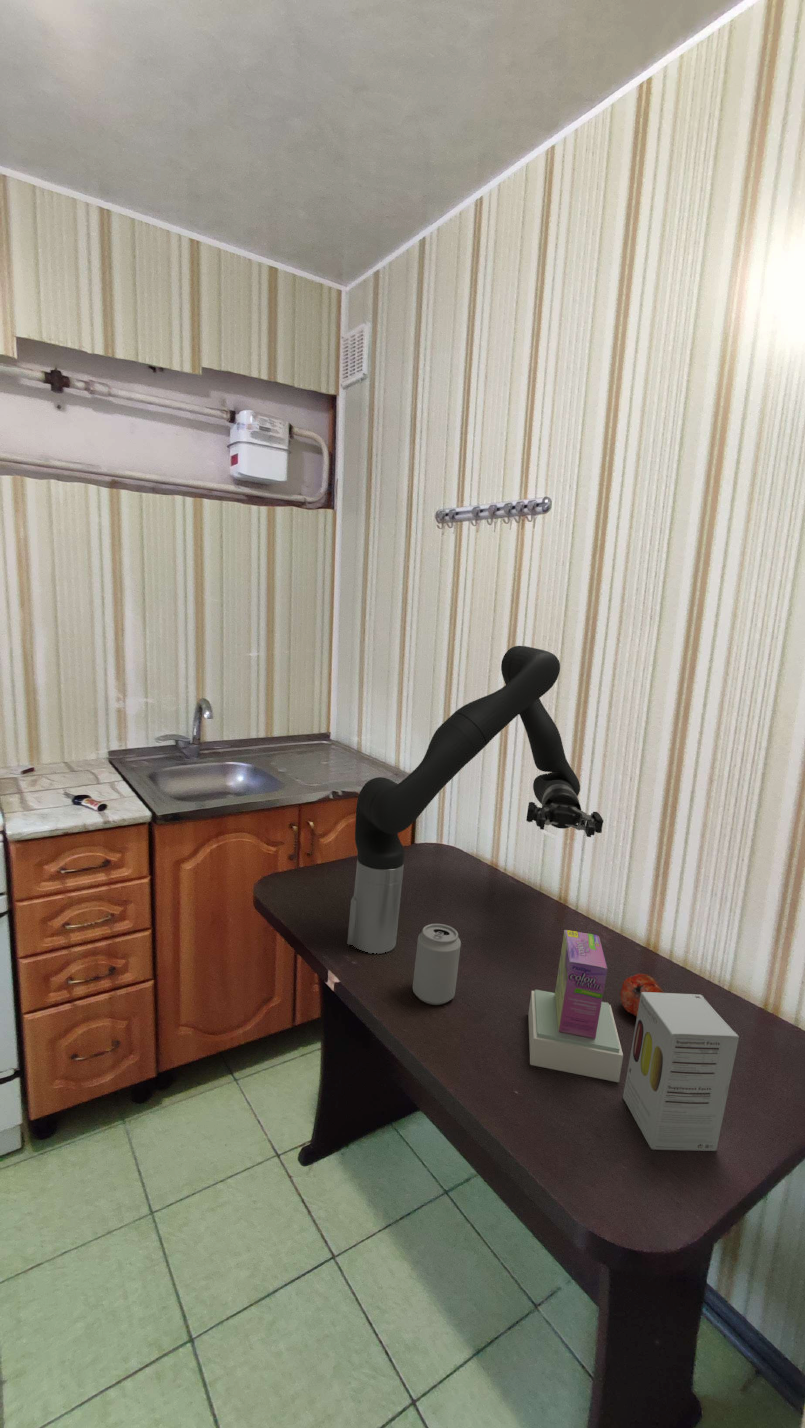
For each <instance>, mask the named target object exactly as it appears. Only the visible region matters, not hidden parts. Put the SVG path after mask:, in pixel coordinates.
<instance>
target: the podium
mask: <svg viewBox="0 0 805 1428" xmlns="http://www.w3.org/2000/svg"><path fill="white" fill-rule="evenodd" d="M527 1015H528V1016H527V1017H528V1039H529V1040H528V1042H529V1043H528V1044H529V1045H528V1046H529V1064H530V1066H534V1067H539V1068H546V1069H550V1070H555V1071H560V1072H564V1073H569V1074H570V1073H571V1074H575V1075H580V1076H586V1077H590V1078H594V1079H600V1080H606V1081H609V1082H614V1083H619V1082H620V1078H621V1071H622V1065H623V1061H624V1060H623V1059H624V1053H623V1050H622V1045H621V1042H620V1038H619V1037H620V1036H619V1034H618V1030H617V1025H616V1021H615V1018H614V1017H615V1016H614V1012H613V1009H612V1005H611V1004H609V1002H605V1001H602V1003H601V1009H600V1015H599V1021H598V1026H597V1032H596V1038H595V1039H592V1038H586V1037H581V1036H576V1035H571V1034H566V1033H562V1032H559V1031H558V1020H557V1009H556V1000H555V992H551V991H545V990H541V989H534V990H531V993H530V1001H529V1007H528V1014H527Z"/></svg>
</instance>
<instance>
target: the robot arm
mask: <svg viewBox="0 0 805 1428" xmlns="http://www.w3.org/2000/svg"><path fill="white" fill-rule="evenodd" d="M500 665H501V666H500V670H501V676H502V678H503V681H504V683H505V685H504V686H503V687H501V688H499V689H498V690H496V691H494V692H492V693H490V694H488V695H485V696H483V697H480V698H477V699H474V700H472V701H470V702H468V703H466V704H464V705H463V706H461V707H460V708H458V709H457V710H455V711H454V712H453V713H452V714H451V715H450V716H449V717H448V718H446V719H445V721H444V722H442V723H441V724H440V725H439V726H438V728H437V729H436V730H435V731H434V733H433V736H432V738H431V740H430V742H429V744H428V747H427V749H426V752H425V755H424V756H423V758H422V760H421V762H420V763H419V764H418V765H417V766H416V767H415V769H414V770H412V771H411V772H410V773H409V774H407V776H406V777H405V778H404V779H402V781H399V782H398V783H397V782H395V781H393V780H391V779H389V778H386V777H382V776H380V777H374V778H371V779H370V780H368V781H366V783H365V784H364V785H363V786H362V787H361V789H360V791H359V793H358V797H357V801H356V806H355V807H356V810H355V829H354V831H355V832H354V842H355V847H356V852H357V856H356V859H357V860H356V870H355V881H354V891H353V892H354V893H353V895H352V898H351V899H350V908H349V909H350V910H349V917H348V918H349V919H348V930H347V942H346V945H347V944H351V945H353V946H354V947H356V948H357V949H359V950H362V951H365V952H368V953H367V954H372V953H374V954H373V955H380V954H385V952H386V953H389V952H390V951H392V950H393V949H395V947H396V945H397V944H396V943H397V938H398V926H399V916H400V906H401V898H402V897H401V895H402V888H403V887H402V886H403V876H404V867H405V856H406V852H405V848H404V846H403V843H402V842H401V839H400V837H399V834H400V833H401V832H403V831H405V830H406V829H408V828H409V827H410V826H411V825H412V824H413V823H415V821H416V820H417V818H419V816H420V815H422V813H423V811H424V810H425V809H426V808H427V807H428V805H429V804H430V803H431V802H432V801H433V800H434V799H435V797H436V796H437V795H438V794H439V793H440V792H441V790H442V789H443V788H445V786H446V785H447V784H448V783H449V782H450V781H452V779H454V777H455V776H456V775H457V774H458V773H459V772H460V771H461V770H462V769H463V768H464V767H466V765H467V764H468V763H469V762H471V761H472V760H473V759H474V758H475V757H476V756H477V755H478V754H479V753H480V752H481V751H482V750H484V748H485V747H486V746H488V744H490V742H491V741H492V739H494V737H496V736H497V735H498V734H499V733H500V732H501V731H502V730H503V729H504V728H506V726H508V725H509V724H510V723H511V722H512V721H514V719H515V718H516V717H518V716H520V719H521V723H522V724H523V727H524V729H525V732H526V735H527V740H528V742H529V743H528V744H529V747H530V750H531V755H532V757H533V758H532V759H533V763H534V766H535V767H536V768H537V770H539V771H541V772H544V773H543V774H539V775H537V776H536V777H535V778H534V780H533V783H532V789H533V794H534V796H535V798H536V800H537V801H538V802H539V803H540V804H541V807H539V806H538V805H537V804H536V803H535V802H533V801H529V802H528V806H527V813H526V822H528V823H533V821H534V822H535V824H536V827H539V829H540V830H543V831H544V830H545V825H546V826H552V827H554V828H556V829H569V828H572V829H575V830H577V831H584V833H585V835H586V837H587V838H592V836H595V834H596V833H597V834H602V831H603V824H604V819H603V817H602V815H600V813H599V812H598V811H592V813H591V814H587V813H586V812H584V811H583V810H582V807H581V803H580V801H579V798H578V796H579V794H580V792H581V783H580V780H579V779H578V777H577V774H576V773H575V772H574V769H572V767H571V765H570V764H569V762H568V759H567V757H566V753H565V750H564V746H563V740H562V737H561V733H560V731H559V729H558V727H557V725H556V723H555V721H554V720H553V718H552V717H551V716H550V714H549V712H548V710H547V709H546V708H545V706H544V704H543V702H542V701H541V699H540V698H541V697H543V696H544V695H545V694H547V692H549V691H550V689H551V688H552V687H554V685H555V683H556V682H557V680H558V679H559V675H560V672H561V663H560V660H559V658H558V657H557V655H555V654H553V653H552V652H550V651H549V650H548V651H547V650H544V649H540V648H535V647H531V646H526V645H516V646H512V647H509V649H508V650H507V651H506V652H505V653H504V655H503V657H502V659H501V664H500ZM545 772H546V773H545ZM353 946H352V947H353ZM354 947H353V948H354ZM356 948H355V949H356ZM357 949H356V950H357ZM359 950H358V951H359ZM362 951H361V952H362ZM365 952H364V953H365ZM376 953H377V954H376Z"/></svg>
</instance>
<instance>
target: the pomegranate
mask: <svg viewBox="0 0 805 1428" xmlns="http://www.w3.org/2000/svg"><path fill="white" fill-rule="evenodd" d="M641 992H656V993H665V992H664V990H663V989H662V988H661V987H660V985H659V983H658V982H657V980H656V979H655V978H654V977H652V976H651V975H649V974H644V973H637V974H635V975H632V976H628V977H627V978H625V980H624V981H623V983H622V986H621V989H620V991H619V994H620V1002H621V1004H622V1006H623V1008H624V1009H625V1010H626V1011H627V1013H629V1014H631V1015H634V1016H635V1017H636V1018H637V1014H638V1008H639V1002H640V996H641Z"/></svg>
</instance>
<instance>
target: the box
mask: <svg viewBox="0 0 805 1428" xmlns="http://www.w3.org/2000/svg"><path fill="white" fill-rule="evenodd" d="M601 941H602V940H601V938H600V936H599V935H597V934H592V933H588V932H587V933H585V932H580V931H574V930H569V929H564V930H563V938H562V943H561V951H560V956H559V963H558V969H557V970H558V971H557V977H556V984H555V991H554V993H555V1000H556V1009H557V1020H558V1031H559V1032H562V1033H566V1034H571V1035H576V1036H581V1037H586V1038H592V1039H595V1038H596V1032H597V1026H598V1021H599V1015H600V1009H601V1003H602V1002H603V997H604V991H605V986H606V980H607V974H608V965H607V962H606V958H605V954H604V950H603V946H602V943H601Z"/></svg>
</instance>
